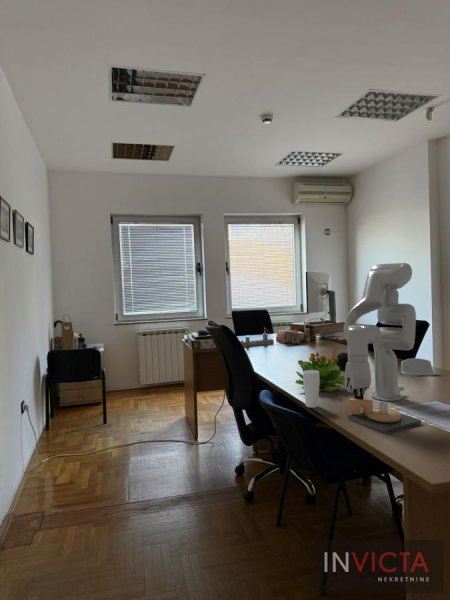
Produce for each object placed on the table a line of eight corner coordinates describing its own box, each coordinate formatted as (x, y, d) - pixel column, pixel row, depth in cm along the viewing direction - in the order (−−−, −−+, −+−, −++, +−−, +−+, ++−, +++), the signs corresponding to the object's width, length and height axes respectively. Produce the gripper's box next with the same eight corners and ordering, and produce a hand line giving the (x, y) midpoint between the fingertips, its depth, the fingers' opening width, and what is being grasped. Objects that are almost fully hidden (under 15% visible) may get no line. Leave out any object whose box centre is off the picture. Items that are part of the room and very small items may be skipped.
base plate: (381, 411, 163) (381, 397, 162) (421, 424, 147) (421, 409, 146) (348, 419, 154) (347, 405, 154) (386, 434, 138) (386, 418, 138)
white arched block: (402, 375, 220) (400, 357, 223) (400, 376, 224) (398, 359, 227) (435, 376, 217) (432, 357, 220) (432, 377, 222) (429, 359, 225)
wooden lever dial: (352, 408, 161) (351, 394, 161) (402, 413, 153) (402, 399, 153) (346, 417, 151) (346, 403, 151) (399, 424, 142) (399, 408, 142)
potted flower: (304, 397, 185) (303, 359, 184) (283, 385, 208) (282, 351, 207) (352, 392, 191) (351, 355, 191) (326, 380, 214) (326, 348, 214)
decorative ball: (352, 367, 245) (352, 351, 245) (353, 371, 235) (353, 354, 235) (335, 367, 247) (335, 351, 247) (335, 370, 238) (335, 353, 237)
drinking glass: (318, 409, 167) (318, 373, 167) (302, 408, 170) (301, 372, 169) (321, 404, 173) (320, 370, 173) (305, 403, 176) (304, 369, 175)
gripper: (364, 354, 163) (365, 399, 164) (336, 359, 156) (337, 406, 157) (379, 357, 157) (380, 403, 158) (351, 362, 150) (352, 411, 151)
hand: (359, 404), depth 158 cm, fingers closed
